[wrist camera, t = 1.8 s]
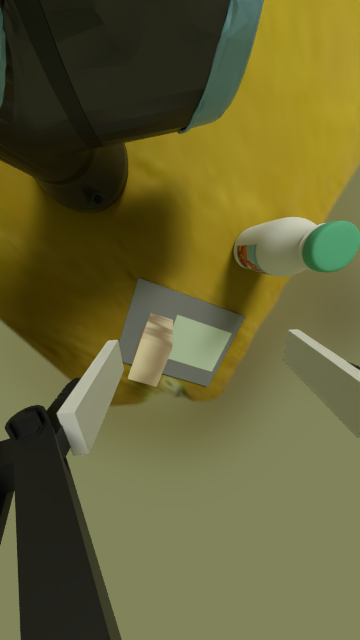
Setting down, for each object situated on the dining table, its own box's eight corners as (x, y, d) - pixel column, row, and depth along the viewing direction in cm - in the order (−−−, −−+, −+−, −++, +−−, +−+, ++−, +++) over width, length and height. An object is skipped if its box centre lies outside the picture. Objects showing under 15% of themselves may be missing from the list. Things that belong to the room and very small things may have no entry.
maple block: (139, 343, 42) (126, 378, 30) (150, 312, 39) (140, 337, 28) (161, 350, 42) (156, 386, 31) (173, 320, 40) (172, 347, 28)
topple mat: (115, 357, 44) (114, 359, 43) (138, 277, 37) (138, 278, 36) (207, 384, 47) (208, 386, 46) (243, 316, 41) (245, 317, 40)
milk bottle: (232, 229, 34) (300, 205, 16) (273, 224, 34) (391, 193, 16) (232, 271, 37) (291, 293, 18) (270, 266, 37) (368, 284, 18)
